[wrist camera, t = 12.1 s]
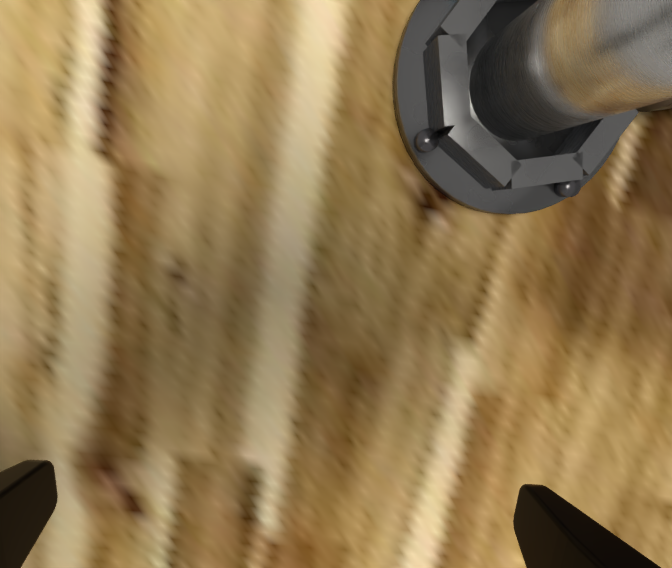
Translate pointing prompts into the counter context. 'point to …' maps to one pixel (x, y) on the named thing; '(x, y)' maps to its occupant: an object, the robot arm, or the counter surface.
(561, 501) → the robot arm
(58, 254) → the counter surface
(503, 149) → the dark grey handled piece
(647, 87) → the jar with red lid
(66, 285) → the counter surface
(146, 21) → the counter surface
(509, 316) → the counter surface
